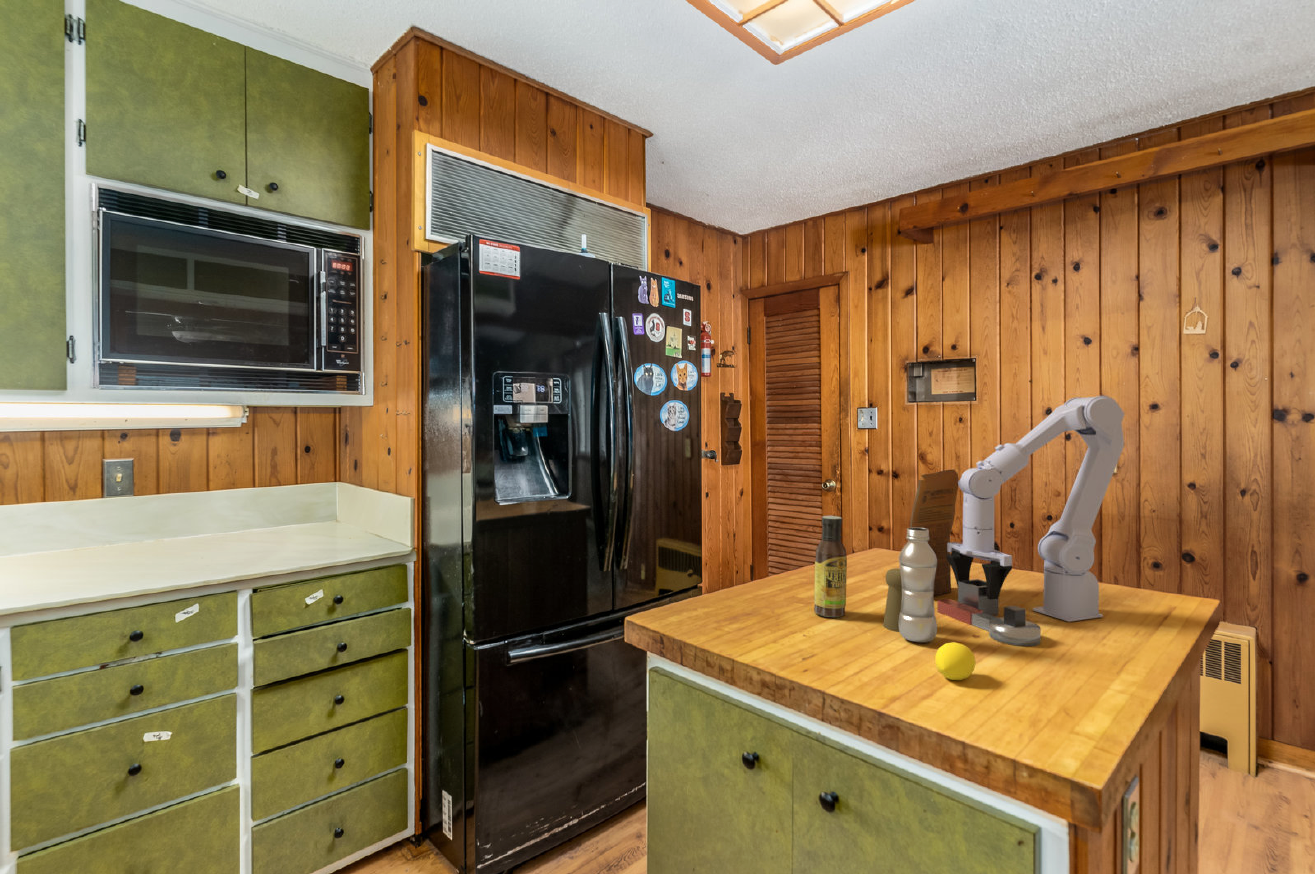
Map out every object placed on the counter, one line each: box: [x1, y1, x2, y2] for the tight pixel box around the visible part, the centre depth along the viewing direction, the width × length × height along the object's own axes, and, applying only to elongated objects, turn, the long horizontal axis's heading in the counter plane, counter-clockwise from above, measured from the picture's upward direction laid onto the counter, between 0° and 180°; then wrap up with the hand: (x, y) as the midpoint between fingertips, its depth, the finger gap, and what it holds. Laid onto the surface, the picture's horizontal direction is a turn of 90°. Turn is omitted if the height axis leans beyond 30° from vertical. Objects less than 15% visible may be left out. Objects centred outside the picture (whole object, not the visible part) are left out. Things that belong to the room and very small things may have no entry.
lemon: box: [934, 641, 977, 681], centre depth 95 cm, size 7×5×5 cm
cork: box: [882, 568, 902, 633], centre depth 118 cm, size 6×6×11 cm
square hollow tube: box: [957, 578, 1000, 616], centre depth 127 cm, size 5×5×6 cm
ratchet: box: [937, 598, 1042, 647], centre depth 118 cm, size 8×21×6 cm, turn 18°
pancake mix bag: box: [909, 469, 960, 598], centre depth 140 cm, size 7×19×28 cm, turn 124°
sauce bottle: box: [813, 515, 848, 618], centre depth 126 cm, size 6×6×20 cm
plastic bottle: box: [898, 527, 938, 643], centre depth 111 cm, size 6×7×20 cm
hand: (977, 593), depth 127 cm, fingers open, 7 cm apart
